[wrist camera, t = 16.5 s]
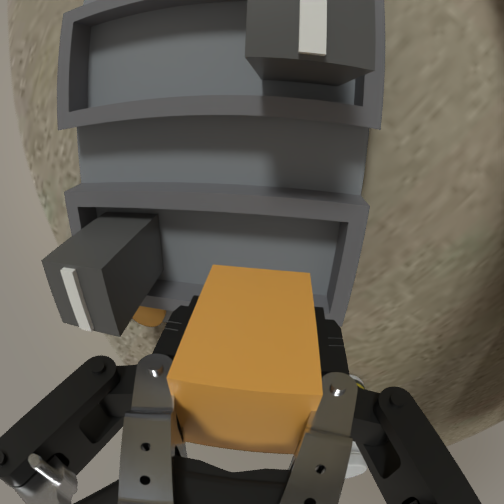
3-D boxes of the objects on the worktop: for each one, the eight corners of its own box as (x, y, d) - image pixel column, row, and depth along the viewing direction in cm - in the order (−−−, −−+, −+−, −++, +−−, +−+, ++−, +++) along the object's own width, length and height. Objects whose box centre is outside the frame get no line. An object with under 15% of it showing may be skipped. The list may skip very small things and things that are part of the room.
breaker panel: (362, -27, 11) (379, -52, 7) (326, 323, 23) (331, 359, 19) (102, -12, 12) (71, -25, 8) (119, 300, 24) (98, 328, 21)
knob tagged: (158, 213, 18) (97, 272, 11) (163, 269, 19) (117, 340, 13) (105, 211, 18) (38, 263, 12) (114, 263, 20) (60, 325, 13)
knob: (339, 21, 11) (374, -33, 5) (337, 86, 13) (377, 69, 7) (264, 14, 12) (248, -47, 5) (261, 79, 13) (243, 54, 7)
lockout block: (309, 272, 12) (322, 394, 7) (296, 342, 14) (297, 454, 8) (212, 264, 12) (166, 377, 7) (215, 334, 14) (185, 441, 9)
